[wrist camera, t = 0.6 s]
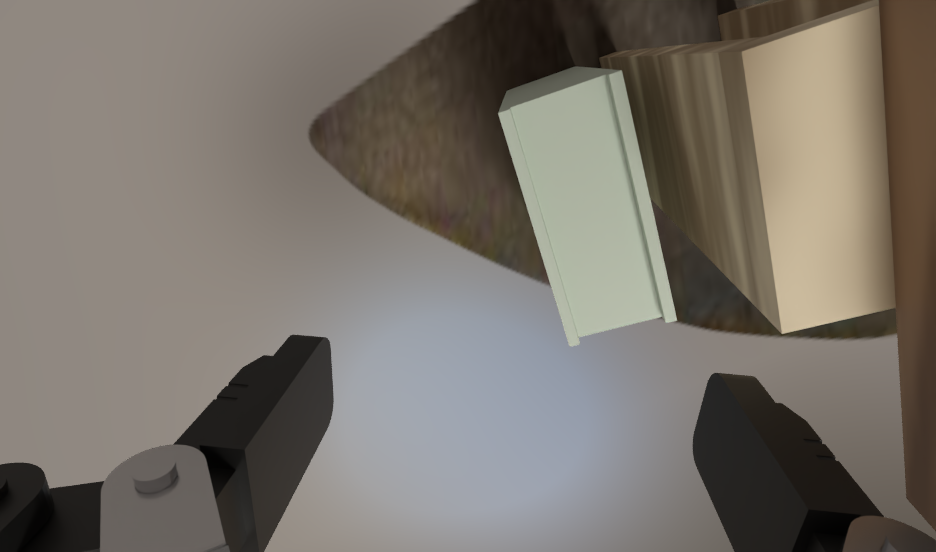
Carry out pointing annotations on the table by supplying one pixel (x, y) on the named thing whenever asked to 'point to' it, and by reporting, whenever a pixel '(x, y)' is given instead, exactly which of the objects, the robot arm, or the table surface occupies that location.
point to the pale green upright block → (588, 199)
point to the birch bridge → (775, 154)
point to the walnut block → (913, 228)
